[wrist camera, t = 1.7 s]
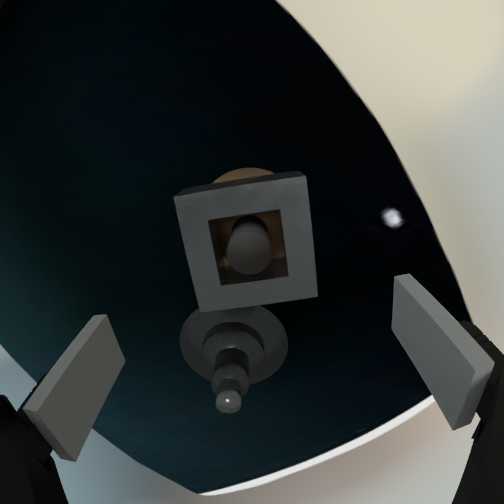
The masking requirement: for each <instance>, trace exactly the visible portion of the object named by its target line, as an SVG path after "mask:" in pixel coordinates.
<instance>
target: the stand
mask: <svg viewBox="0 0 504 504" xmlns="http://www.w3.org/2000/svg"><path fill="white" fill-rule="evenodd" d="M269 174H274V173H272V172H270V171H267V170H264V169H259V168H241V169H237V170H233V171H231V172H228V173H226V174H224V175H222V176H221V177H219V178H218V179H217V180H215V181H214V182H213V183H218V182H224V181H230V180H236V179H243V178H249V177H256V176H262V175H269ZM216 220H217V226H218V231H219V236H220V241H221V246H222V252H223V257H224V262H225V265H231V267H232V268H233V269H235V270H236V271H237V272H239V273H242V274H247V275H252V274H256V273H259V272H261V271H263V270H264V269H265V268H266V267H267V266H268V264H269V262H270V260H271V259H274V258H281V257H284V253H283V246H282V238H281V231H280V223H279V216H278V209H277V210H270V211H264V212H257V213H250V214H243V215H237V216H231V217H224V218H218V219H216Z"/></svg>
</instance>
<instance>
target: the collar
mask: <svg viewBox="0 0 504 504" xmlns="http://www.w3.org/2000/svg"><path fill="white" fill-rule="evenodd" d="M174 201H175V206H176V211H177V215H178V220H179V225H180V229H181V234H182V238H183V243H184V247H185V251H186V256H187V260H188V264H189V268H190V272H191V277H192V281H193V285H194V289H195V293H196V297H197V301H198V304H199V308H200V312H208V311H217V310H225V309H233V308H241V307H249V306H256V305H264V304H271V303H278V302H285V301H292V300H298V299H305V298H311V297H318V293H317V280H316V268H315V256H314V245H313V235H312V225H311V216H310V207H309V198H308V190H307V182H306V176H305V175H303V174H302V173H300V172H299V171H291V172H284V173H276V174H269V175H262V176H256V177H249V178H243V179H236V180H230V181H224V182H218V183H212V184H207V185H201V186H195V187H190V188H185V189H184V190H183V191H181V192H180V193H178V194H177V195H176V196H174ZM277 209H278V216H279V223H280V231H281V238H282V246H283V253H284V257H281V258H274V259H271V260H270V262H269V264H268V266H267V267H266V268H265V269H264V270H263V271H261V272H259V273H256V274H252V275H247V274H242V273H239V272H237V271H236V270H235V269H233V268H232V267H231V265H225V262H224V257H223V252H222V246H221V241H220V236H219V231H218V226H217V220H216V219H218V218H224V217H231V216H237V215H243V214H250V213H257V212H264V211H270V210H277Z"/></svg>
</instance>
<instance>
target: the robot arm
mask: <svg viewBox="0 0 504 504" xmlns="http://www.w3.org/2000/svg"><path fill="white" fill-rule="evenodd" d="M15 1H16V0H0V28H1V27H2V25H3V24H4V22H5V20H6V19H7V17H8V15H9V14H10V12H11V10H12V8H13V6H14V4H15ZM392 330H393V332H394V334H395V335H396V337H397V338H398V340H399V341H400V343H401V344H402V346H403V348H404V349H405V351H406V352H407V354H408V355H409V357H410V359H411V360H412V362H413V364H414V365H415V367H416V368H417V370H418V372H419V373H420V375H421V377H422V378H423V380H424V382H425V383H426V385H427V387H428V388H429V390H430V392H431V393H432V395H433V397H434V398H435V400H436V402H437V404H438V405H439V407H440V409H441V411H442V412H443V414H444V416H445V418H446V419H447V421H448V423H449V425H450V426H451V428H452V430H456V429H458V428H461V427H463V426H466V425H468V424H470V423H471V422H472V419H473V417H474V415H475V413H476V412H477V414H478V415H479V417H480V418H481V420H480V422H479V424H478V426H477V428H476V430H475V432H474V434H473V436H472V438H473V439H474V441H473V445H472V449H471V452H470V455H469V458H468V461H467V464H466V467H465V470H464V473H463V476H462V479H461V481H460V484H459V487H458V489H457V492H456V494H455V497H454V499H453V502H452V504H504V355H503V354H502V352H501V351H500V350H499V349H498V348H497V347H496V346H495V345H494V344H493V343H492V342H491V341H489V339H488V338H487V337H486V336H485V335H483V333H482V332H481V330H479V328H478V327H476V325H474V324H472V323H470V322H468V321H466V320H463V321H460V322H457V321H456V320H455V319H454V317H453V316H452V315H451V314H450V313H449V312H448V311H447V310H446V309H445V308H444V307H443V306H442V305H441V304H440V303H439V302H438V301H437V300H436V299H435V298H434V297H433V296H432V295H431V294H430V293H429V292H428V291H427V290H426V289H425V288H424V287H423V286H422V285H421V284H420V283H419V282H418V281H417V280H416V279H414V278H413V277H412V276H411V275H410V274H405V275H399V276H394V297H393V315H392ZM124 363H125V359H124V356H123V354H122V352H121V349H120V347H119V344H118V342H117V340H116V337H115V335H114V332H113V330H112V327H111V325H110V322H109V319H108V317H107V314H106V315H94V316H93V317H92V318H91V319H90V321H89V322H88V323H87V324H86V325H85V327H84V328H83V329H82V330H81V332H80V333H79V334H78V335H77V337H76V338H75V339H74V340H73V342H72V343H71V344H70V345H69V347H68V348H67V349H66V351H65V352H64V353H63V354H62V356H61V357H60V358H59V360H58V361H57V362H56V363H55V365H54V366H53V367H52V369H51V370H50V371H48V372H47V373H46V374H45V375H43V376H42V378H41V379H40V380H39V382H38V383H37V386H35V387H34V388H33V390H32V392H30V394H29V395H28V397H27V398H26V399H25V401H24V402H23V403H22V405H21V406H20V408H19V409H18V411H17V412H16V410H15V409H14V407H13V406H12V404H11V403H10V401H9V400H8V398H7V397H6V396H5V395H0V504H69V503H68V501H67V498H66V495H65V493H64V490H63V487H62V484H61V481H60V478H59V475H58V472H57V468H56V465H55V462H54V460H53V458H52V457H51V455H50V454H51V452H52V450H54V451H55V452H56V454H58V456H59V457H60V458H61V459H65V460H69V461H74V462H76V460H77V458H78V456H79V454H80V451H81V449H82V447H83V445H84V443H85V441H86V439H87V437H88V434H89V432H90V430H91V428H92V426H93V424H94V422H95V420H96V418H97V416H98V414H99V412H100V410H101V408H102V406H103V404H104V402H105V400H106V398H107V396H108V394H109V392H110V390H111V388H112V386H113V384H114V382H115V380H116V378H117V376H118V374H119V372H120V371H121V369H122V367H123V365H124Z"/></svg>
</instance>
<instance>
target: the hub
mask: <svg viewBox="0 0 504 504" xmlns="http://www.w3.org/2000/svg"><path fill="white" fill-rule="evenodd" d="M180 348H181V352H182V354H183V357H184V359H185V360H186V362H187V363H188V365H189V366H190V367H191V368H192V369H193V370H194V371H195V372H196V373H198V374H199V375H201V376H202V377H204V378H206V379H208V380H210V381H212V383H211V387H212V390H213V391H214V393H215V394H217V399H216V407H217V409H218V410H220V411H221V412H224V413H235V412H237V411H238V410H239V409H240V408H241V397H242V396H244V395H245V394H246V393H247V391H248V388H249V385H250V384H254V383H257V382H260V381H262V380H264V379H266V378H268V377H269V376H271V375H272V374H273V373H275V372H276V371H277V370H278V369H279V368H280V366H281V365H282V363H283V362H284V360H285V358H286V355H287V351H288V338H287V333H286V330H285V327H284V325H283V323H282V322H281V320H280V319H279V318H278V316H277V315H276V314H275V313H274V312H273V311H271V310H270V309H269V308H267V307H266V306H264V305H256V306H249V307H241V308H233V309H225V310H217V311H208V312H200V308H199V307H197V308H196V309H195V310H193V311H192V312H191V313H190V315H189V316H188V317H187V319H186V320H185V322H184V324H183V327H182V329H181V333H180Z"/></svg>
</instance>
